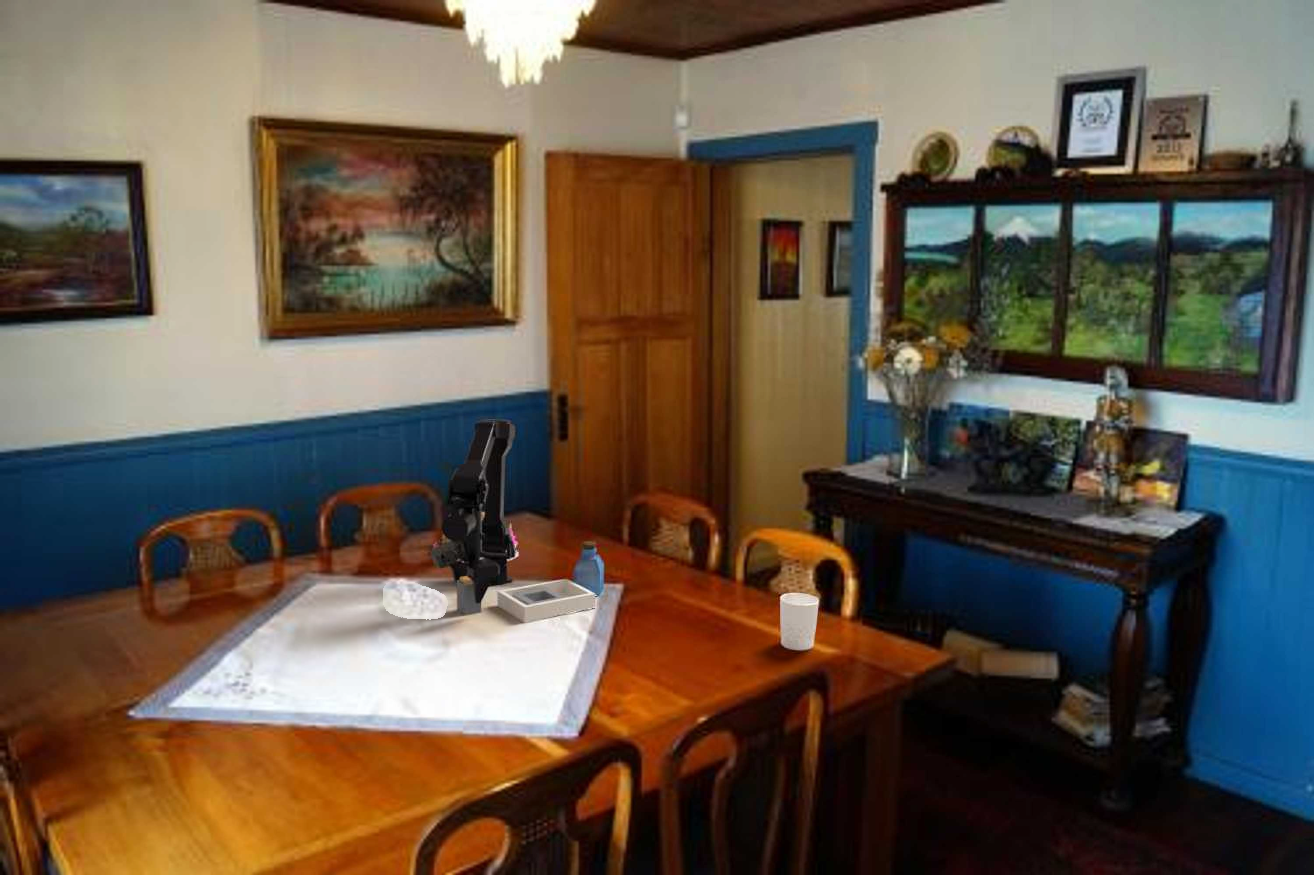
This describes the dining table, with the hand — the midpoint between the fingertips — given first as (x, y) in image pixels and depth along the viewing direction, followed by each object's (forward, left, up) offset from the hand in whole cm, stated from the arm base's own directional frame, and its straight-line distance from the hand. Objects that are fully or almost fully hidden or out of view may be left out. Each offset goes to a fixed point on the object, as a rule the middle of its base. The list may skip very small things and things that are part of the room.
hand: (469, 597), depth 234 cm
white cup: (+54, +49, -4) cm, 73 cm away
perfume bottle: (+2, +30, -4) cm, 30 cm away
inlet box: (+7, +16, -3) cm, 18 cm away
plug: (0, 0, -3) cm, 3 cm away
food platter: (-42, +23, -4) cm, 48 cm away
